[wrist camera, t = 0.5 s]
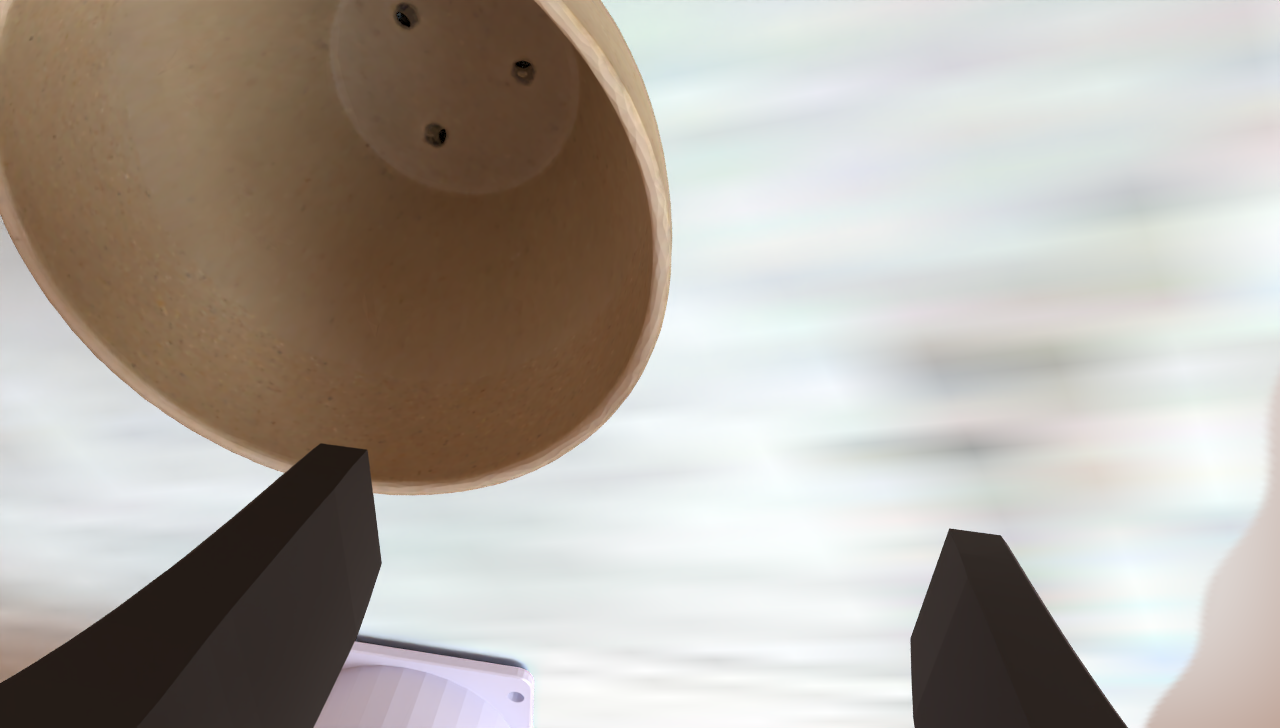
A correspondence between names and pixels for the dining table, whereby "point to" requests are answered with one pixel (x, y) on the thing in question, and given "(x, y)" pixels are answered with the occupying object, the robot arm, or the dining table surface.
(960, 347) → the dining table surface
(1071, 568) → the dining table surface
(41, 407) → the dining table surface
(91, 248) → the flower pot
